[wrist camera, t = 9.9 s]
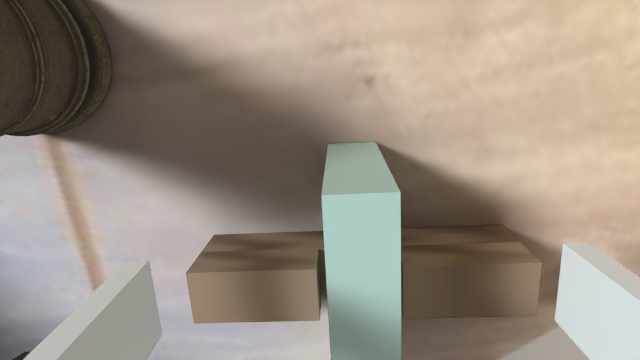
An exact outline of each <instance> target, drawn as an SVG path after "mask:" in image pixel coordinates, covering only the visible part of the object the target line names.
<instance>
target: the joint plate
mask: <svg viewBox="0 0 640 360" xmlns="http://www.w3.org/2000/svg"><path fill="white" fill-rule="evenodd" d="M321 199H322V216H323V233H324V250H325V267H326V284H327V300H328V317H329V334H330V351H331V360H401V192H400V190H399V188H398V186H397V184H396V182H395V180H394V178H393V176H392V174H391V172H390V170H389V168H388V166H387V164H386V162H385V160H384V158H383V156H382V154H381V152H380V150H379V148H378V145H377V143H376V142H358V143H338V144H328V148H327V156H326V163H325V171H324V178H323V186H322V194H321Z"/></svg>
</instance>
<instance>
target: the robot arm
mask: <svg viewBox="0 0 640 360" xmlns="http://www.w3.org/2000/svg"><path fill="white" fill-rule="evenodd" d="M555 321H556V323H557V324H558V325H559V326H560V327H561V328H562V329H563V330H564V331H565V332H566V334H567V335H568V336H569V337H570V338H571V339H572V341H573V342H574V343H575V344H576V345H577V346H578V347H579V348H580V349H581V350H582V352H583V353H584V354H585V355H586V356H587V357H588V358H589V360H640V277H639V276H637V275H636V274H635V273H633V272H632V271H630V270H629V269H627V268H626V267H624V266H623V265H621V264H620V263H618V262H617V261H615V260H614V259H612V258H611V257H609V256H608V255H606V254H605V253H603V252H602V251H600V250H599V249H598V248H596V247H595V246H593V245H592V244H590V243H589V242H582V243H563V249H562V258H561V267H560V276H559V285H558V294H557V303H556V312H555ZM161 335H162V329H161V324H160V319H159V313H158V308H157V302H156V297H155V291H154V286H153V280H152V275H151V269H150V264H149V260H146V261H125V262H124V263H123V264H122V265H121V266H120V267H119V268H118V269H117V270H116V271H115V272H114V273H113V274H112V275H111V276H110V277H109V278H108V279H107V280H106V281H105V282H103V283H102V284H101V285H100V286H99V287H98V288H97V289H96V290H95V291H94V292H93V293H92V294H91V295H90V296H89V297H88V298H87V299H86V300H85V301H84V302H83V303H81V304H80V305H79V306H78V307H77V308H76V309H75V310H74V311H73V312H72V313H71V314H70V315H69V316H68V317H67V318H66V319H65V320H64V321H63V322H62V323H61V324H59V325H58V326H57V327H56V328H55V329H54V330H53V331H52V332H51V333H50V334H49V335H48V336H47V337H46V338H45V339H44V340H43V341H42V342H41V343H40V344H39V345H38V346H36V347H35V348H34V349H33V350H32V351H31V352H24V353H22V354H21V355H19V356H18V357H16V358H14V359H13V360H146V359H147V358H148V356H149V355H150V353H151V351H152V350H153V348H154V347H155V345H156V343H157V342H158V340H159V339H160V337H161Z"/></svg>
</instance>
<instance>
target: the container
mask: <svg viewBox="0 0 640 360" xmlns="http://www.w3.org/2000/svg"><path fill="white" fill-rule="evenodd" d="M111 74H112V64H111V56H110V52H109V47H108V44H107V40H106V38H105V35H104V33H103V31H102V29H101V27H100V25H99V23H98V21H97V19H96V18H95V16H94V15H93V14H92V12H91V11H90V10H89V9H88V7H87V6H86V5H85V4H84V3H83V2H82V1H81V0H0V136H3V135H5V134H6V135H13V136H31V135H38V134H50V133H56V132H61V131H64V130H67V129H70V128H72V127H74V126H76V125H78V124H80V123H81V122H83V121H84V120H85V119H87V118H88V117H89V116H90V115H91V114H93V113H94V112H95V111H96V110H97V108H98V107H99V106H100V105H101V103H102V102H103V100H104V98H105V96H106V94H107V92H108V89H109V86H110V82H111Z"/></svg>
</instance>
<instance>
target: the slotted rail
mask: <svg viewBox="0 0 640 360" xmlns="http://www.w3.org/2000/svg"><path fill="white" fill-rule="evenodd" d="M541 268H542V262H541V261H540V260H539V259H538V258H536V257H535V256H534V255H533V254H532V253H531V252H530V251H529V250H528V249H527V248H526V247H525V246H524V245H523V244H522V243H521V242H520V241H519V240H518V239H517V238H516V237H515V236H514V235H513V234H512V233H511V232H510V231H509V230H508V229H507V228H505V227H504V226H503V225H490V226H460V227H431V228H402V229H401V311H402V315H403V319H412V318H458V317H505V316H537V309H538V298H539V288H540V278H541ZM186 276H187V282H188V289H189V295H190V301H191V308H192V314H193V320H194V323H226V322H273V321H319V320H320V309H321V296H322V295H327V284H326V267H325V250H324V233H323V231H314V232H285V233H255V234H226V235H214V236H213V237H212V239H211V240H210V241H209V243H208V244H207V245H206V247H205V248H204V249H203V251H202V252H201V254H200V255H199V256H198V258H197V259H196V260H195V262H194V263H193V264H192V266H191V267H190V268H189V270H188V271H187V272H186Z"/></svg>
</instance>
